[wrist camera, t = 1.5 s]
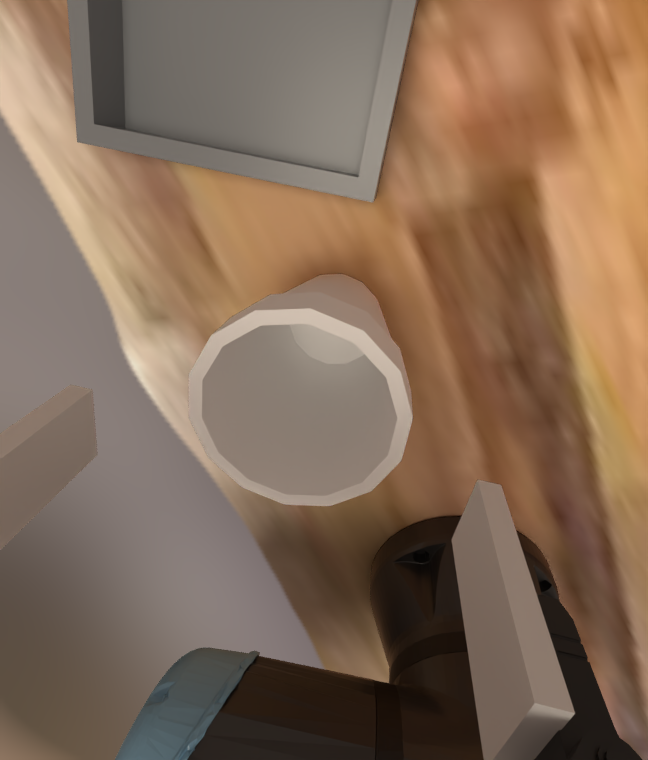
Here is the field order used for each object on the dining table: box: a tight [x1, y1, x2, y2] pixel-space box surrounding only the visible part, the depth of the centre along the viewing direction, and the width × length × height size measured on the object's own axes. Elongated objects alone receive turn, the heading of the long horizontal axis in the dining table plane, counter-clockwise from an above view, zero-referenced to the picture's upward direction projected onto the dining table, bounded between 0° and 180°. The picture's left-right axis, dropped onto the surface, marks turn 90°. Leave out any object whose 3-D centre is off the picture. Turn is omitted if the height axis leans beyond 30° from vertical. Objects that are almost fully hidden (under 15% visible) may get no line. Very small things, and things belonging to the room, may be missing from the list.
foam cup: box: [189, 274, 413, 506], centre depth 24 cm, size 10×9×13 cm
